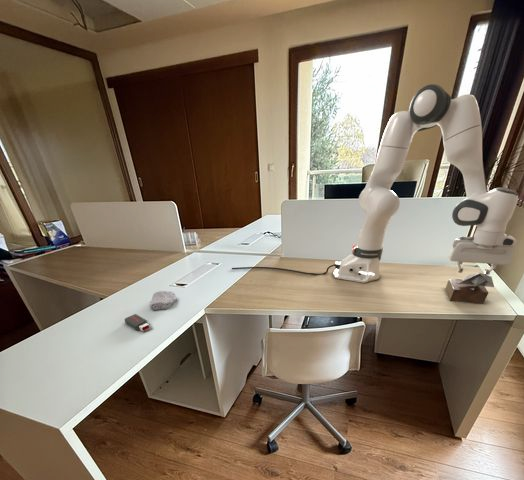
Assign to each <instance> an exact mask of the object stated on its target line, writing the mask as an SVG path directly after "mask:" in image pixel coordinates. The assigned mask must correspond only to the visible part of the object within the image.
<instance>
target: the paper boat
mask: <svg viewBox="0 0 524 480" xmlns="http://www.w3.org/2000/svg"><path fill="white" fill-rule="evenodd" d="M460 284H469V285H475V286H477V285H478V286H485V288H486V287H488V288H495V284H494V281H493V277H492V276H491V275H485V274H484V272H483V273H482V272H476V273H471V274H468V275H467V276H466V277H464V278H463V279H462V281H461V282H460ZM471 290H474V288H472V289H471Z"/></svg>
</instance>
